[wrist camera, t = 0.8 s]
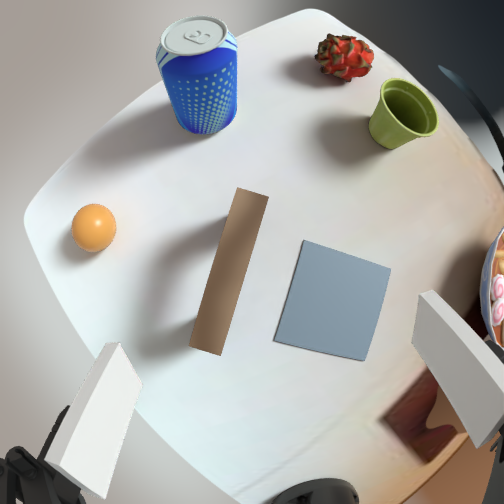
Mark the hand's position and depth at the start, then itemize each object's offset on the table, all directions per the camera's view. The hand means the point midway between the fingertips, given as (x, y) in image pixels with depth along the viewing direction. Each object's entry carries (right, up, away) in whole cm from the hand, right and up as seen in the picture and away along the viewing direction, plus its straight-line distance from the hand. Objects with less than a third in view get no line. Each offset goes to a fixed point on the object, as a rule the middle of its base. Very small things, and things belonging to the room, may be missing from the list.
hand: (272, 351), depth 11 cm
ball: (-20, +7, +20) cm, 29 cm away
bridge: (-3, +2, +23) cm, 24 cm away
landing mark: (+10, -3, +24) cm, 26 cm away
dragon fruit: (+14, +35, +27) cm, 46 cm away
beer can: (-7, +24, +25) cm, 35 cm away
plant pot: (+20, +23, +27) cm, 40 cm away
